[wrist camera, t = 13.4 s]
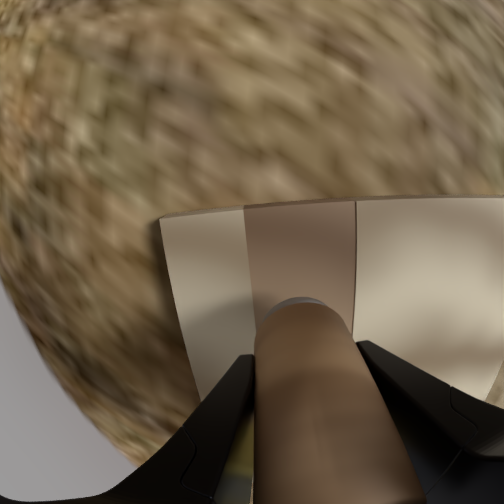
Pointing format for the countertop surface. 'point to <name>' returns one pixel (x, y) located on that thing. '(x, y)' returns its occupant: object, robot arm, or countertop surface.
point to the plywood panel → (347, 278)
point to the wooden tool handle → (322, 416)
